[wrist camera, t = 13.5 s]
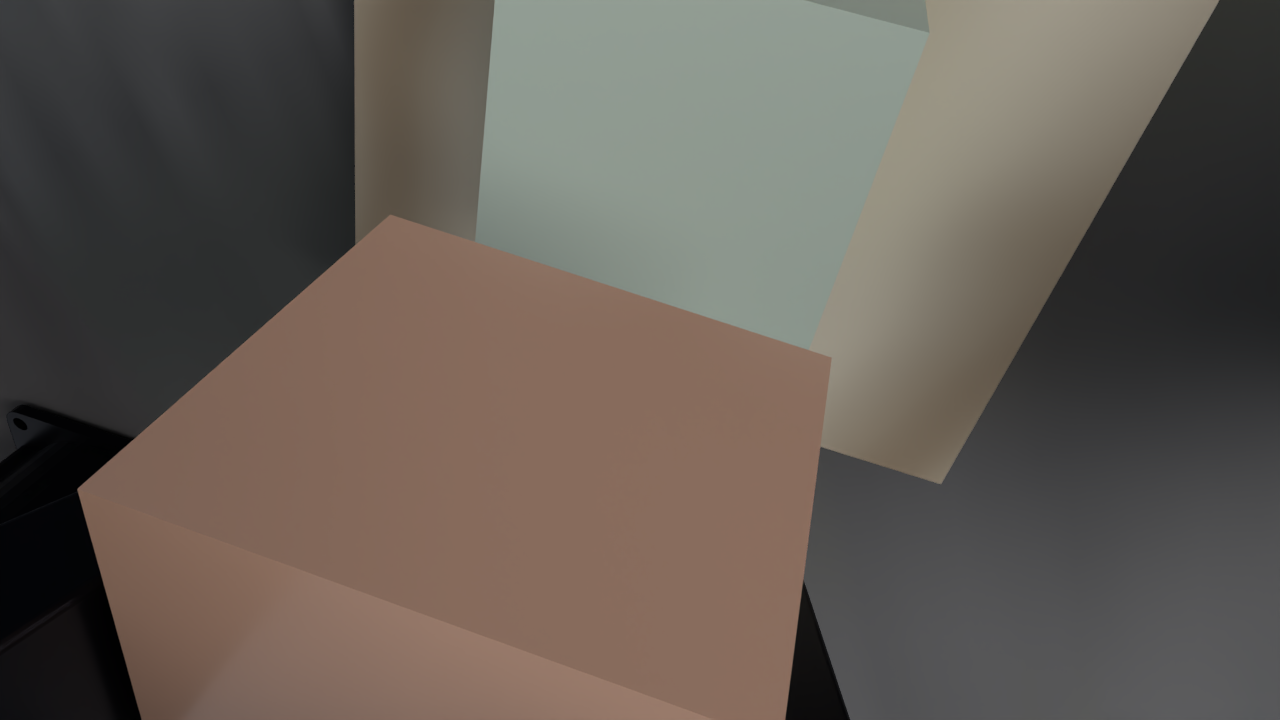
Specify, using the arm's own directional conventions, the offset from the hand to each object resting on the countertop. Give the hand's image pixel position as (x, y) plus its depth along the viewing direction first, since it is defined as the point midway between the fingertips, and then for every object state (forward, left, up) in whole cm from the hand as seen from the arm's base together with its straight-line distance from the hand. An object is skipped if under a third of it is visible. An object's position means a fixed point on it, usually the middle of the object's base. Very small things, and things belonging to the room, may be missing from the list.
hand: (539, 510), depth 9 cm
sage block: (0, +1, -9) cm, 9 cm away
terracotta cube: (0, 0, -1) cm, 1 cm away
